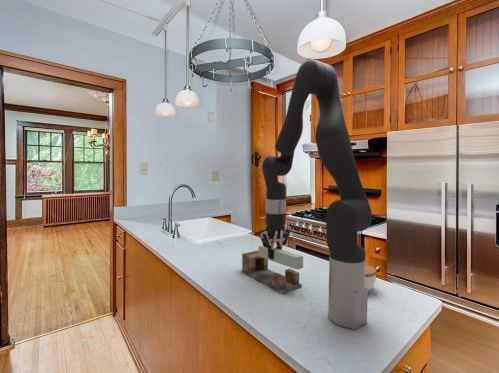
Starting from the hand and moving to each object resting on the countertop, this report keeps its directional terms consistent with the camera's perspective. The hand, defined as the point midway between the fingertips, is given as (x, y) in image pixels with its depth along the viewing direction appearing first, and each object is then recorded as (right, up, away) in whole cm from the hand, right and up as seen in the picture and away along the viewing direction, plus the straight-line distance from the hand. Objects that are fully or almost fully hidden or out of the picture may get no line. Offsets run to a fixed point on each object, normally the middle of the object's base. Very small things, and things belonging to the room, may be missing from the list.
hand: (274, 257), depth 97 cm
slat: (+1, -1, -2) cm, 3 cm away
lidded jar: (+28, -10, -6) cm, 31 cm away
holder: (-2, -9, +3) cm, 10 cm away
